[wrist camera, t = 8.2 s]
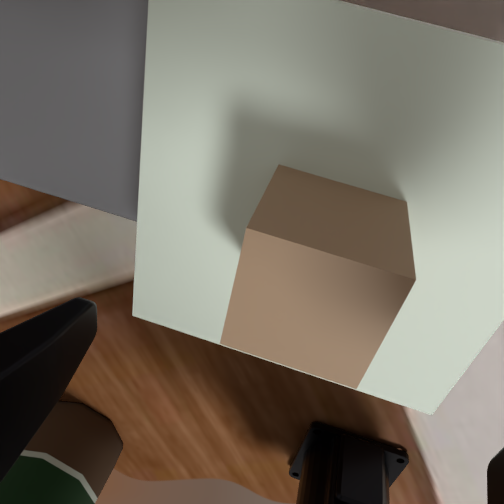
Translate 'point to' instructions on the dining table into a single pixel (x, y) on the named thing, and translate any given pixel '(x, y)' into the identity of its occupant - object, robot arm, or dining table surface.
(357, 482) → the robot arm
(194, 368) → the dining table surface
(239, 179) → the cover sheet
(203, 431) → the dining table surface
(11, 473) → the beer bottle
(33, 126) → the mat
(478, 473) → the dining table surface
